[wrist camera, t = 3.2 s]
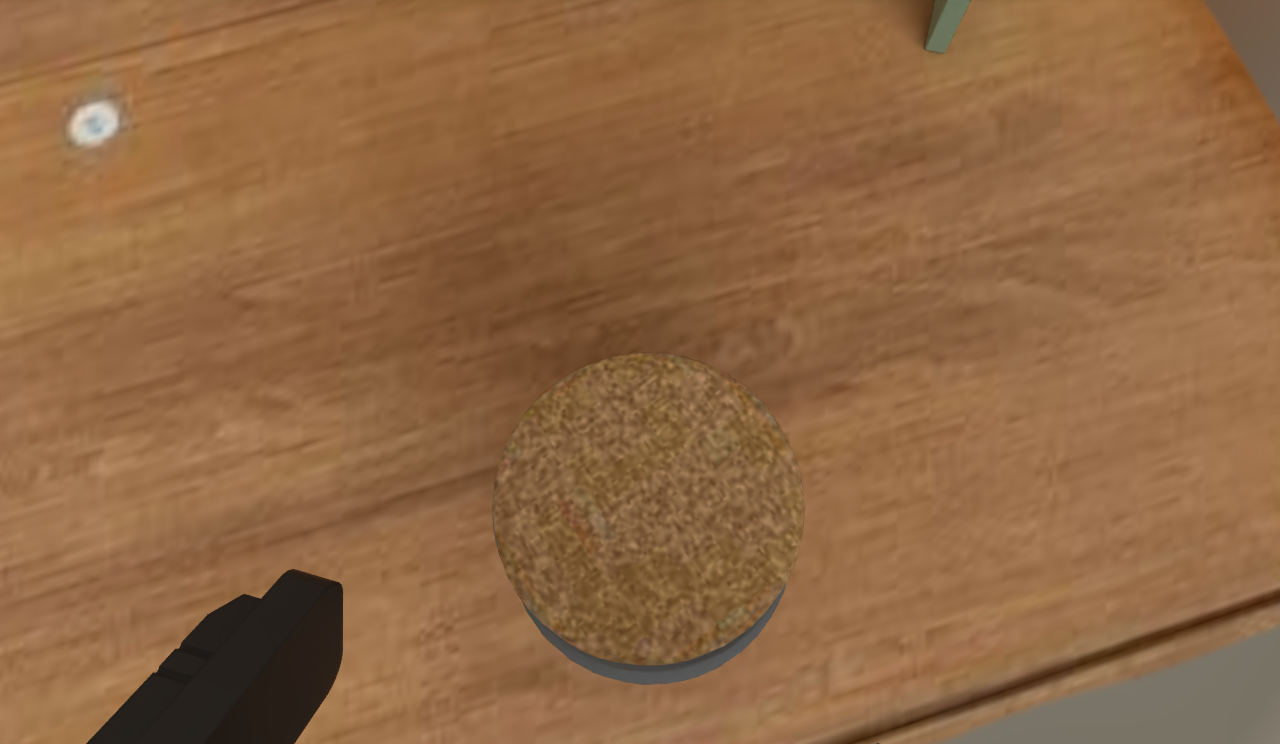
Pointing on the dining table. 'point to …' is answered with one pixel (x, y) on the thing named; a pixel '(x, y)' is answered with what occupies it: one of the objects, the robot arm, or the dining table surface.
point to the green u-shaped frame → (944, 23)
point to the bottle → (648, 516)
